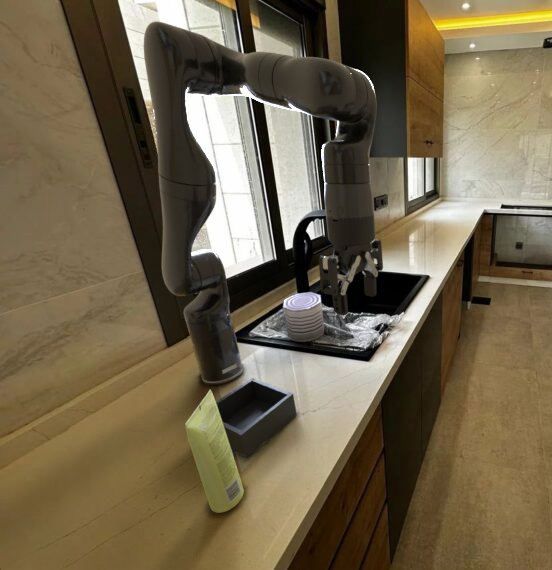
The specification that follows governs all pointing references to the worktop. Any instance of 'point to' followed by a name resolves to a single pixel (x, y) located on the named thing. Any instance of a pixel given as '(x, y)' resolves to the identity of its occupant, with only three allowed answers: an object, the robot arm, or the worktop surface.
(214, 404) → the tube
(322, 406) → the worktop surface
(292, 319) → the can
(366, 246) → the robot arm
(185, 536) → the worktop surface
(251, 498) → the worktop surface
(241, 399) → the tub
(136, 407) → the worktop surface
